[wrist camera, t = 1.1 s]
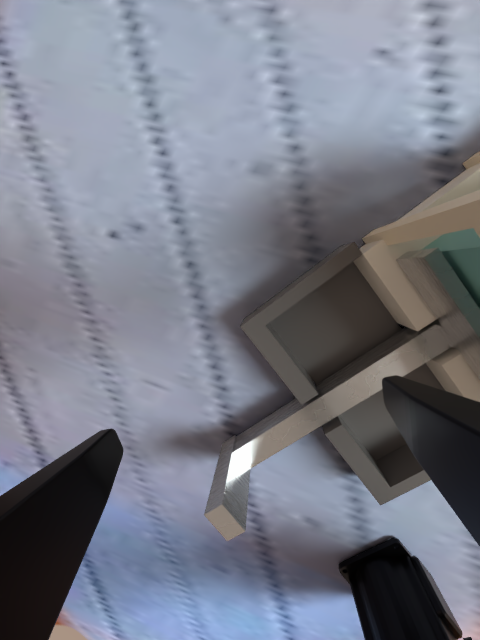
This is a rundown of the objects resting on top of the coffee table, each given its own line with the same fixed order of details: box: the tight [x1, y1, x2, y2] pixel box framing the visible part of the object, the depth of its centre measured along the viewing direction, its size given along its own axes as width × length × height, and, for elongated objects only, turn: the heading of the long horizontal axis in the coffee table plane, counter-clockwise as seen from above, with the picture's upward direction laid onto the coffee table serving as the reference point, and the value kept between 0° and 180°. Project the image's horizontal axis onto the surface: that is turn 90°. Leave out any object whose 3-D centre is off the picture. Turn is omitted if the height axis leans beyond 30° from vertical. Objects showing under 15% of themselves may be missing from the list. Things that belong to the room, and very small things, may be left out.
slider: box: [204, 248, 480, 541], centre depth 17 cm, size 29×13×7 cm, turn 128°
